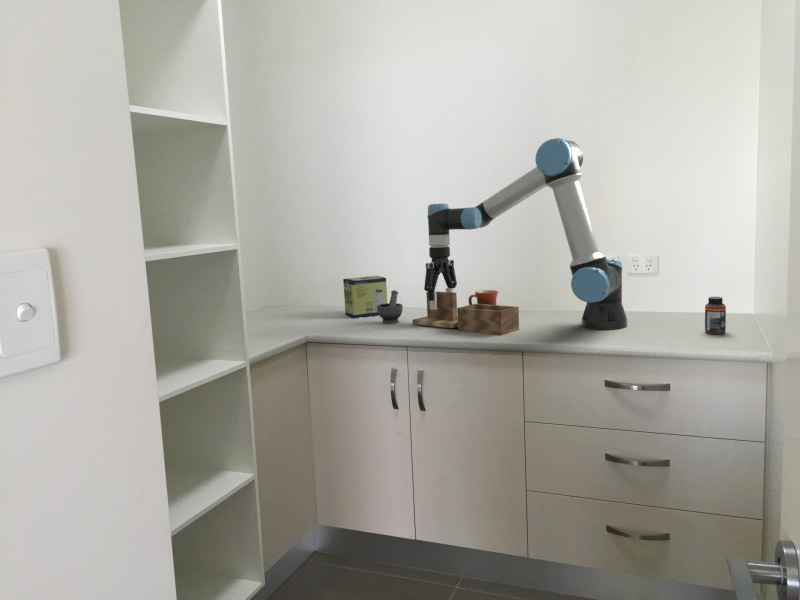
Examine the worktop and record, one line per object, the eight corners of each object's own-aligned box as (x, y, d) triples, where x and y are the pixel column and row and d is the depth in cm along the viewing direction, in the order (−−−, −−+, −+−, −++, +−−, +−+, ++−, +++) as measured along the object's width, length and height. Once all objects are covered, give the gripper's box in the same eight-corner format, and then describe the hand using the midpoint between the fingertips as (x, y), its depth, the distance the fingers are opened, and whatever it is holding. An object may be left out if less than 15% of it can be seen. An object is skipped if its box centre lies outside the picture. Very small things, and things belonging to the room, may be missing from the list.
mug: (491, 315, 265) (490, 289, 264) (503, 318, 257) (502, 291, 256) (464, 318, 261) (463, 292, 259) (475, 321, 253) (474, 294, 251)
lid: (473, 324, 248) (471, 291, 246) (453, 330, 239) (452, 295, 237) (432, 320, 260) (431, 289, 259) (412, 325, 251) (410, 293, 250)
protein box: (344, 315, 282) (342, 278, 280) (378, 311, 289) (376, 275, 287) (353, 318, 273) (351, 280, 271) (388, 314, 279) (386, 277, 277)
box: (519, 329, 233) (518, 306, 232) (501, 335, 225) (501, 311, 224) (476, 325, 245) (475, 303, 244) (458, 330, 237) (457, 308, 236)
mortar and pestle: (396, 325, 253) (394, 293, 251) (373, 324, 257) (372, 293, 255) (408, 320, 263) (407, 289, 261) (386, 319, 267) (385, 289, 265)
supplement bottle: (707, 330, 217) (708, 295, 215) (727, 331, 213) (728, 296, 212) (702, 333, 212) (702, 298, 211) (722, 335, 209) (723, 299, 207)
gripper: (449, 244, 256) (451, 302, 259) (412, 248, 240) (414, 311, 243) (465, 244, 251) (467, 303, 254) (428, 248, 235) (431, 312, 238)
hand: (441, 307), depth 249 cm, fingers open, 9 cm apart
